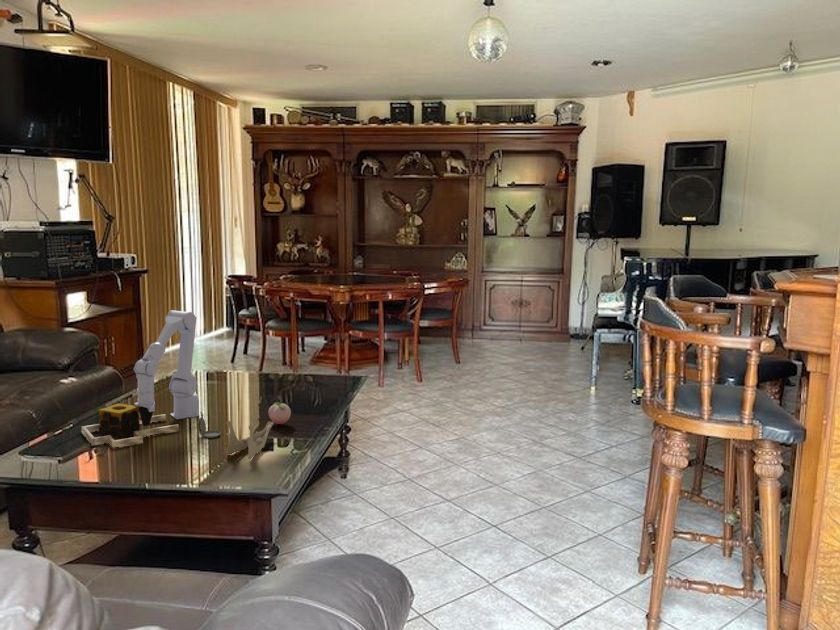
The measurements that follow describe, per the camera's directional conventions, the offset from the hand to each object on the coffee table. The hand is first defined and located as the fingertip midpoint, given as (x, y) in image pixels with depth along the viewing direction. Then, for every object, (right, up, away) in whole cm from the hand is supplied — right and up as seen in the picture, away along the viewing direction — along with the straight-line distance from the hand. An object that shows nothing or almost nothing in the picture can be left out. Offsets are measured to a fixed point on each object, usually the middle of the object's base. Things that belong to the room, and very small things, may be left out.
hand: (146, 425), depth 232 cm
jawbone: (+45, -6, -13) cm, 48 cm away
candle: (-7, -2, -6) cm, 10 cm away
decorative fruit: (+48, -3, +14) cm, 50 cm away
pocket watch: (+25, -4, -3) cm, 25 cm away
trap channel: (-4, -2, -3) cm, 5 cm away
